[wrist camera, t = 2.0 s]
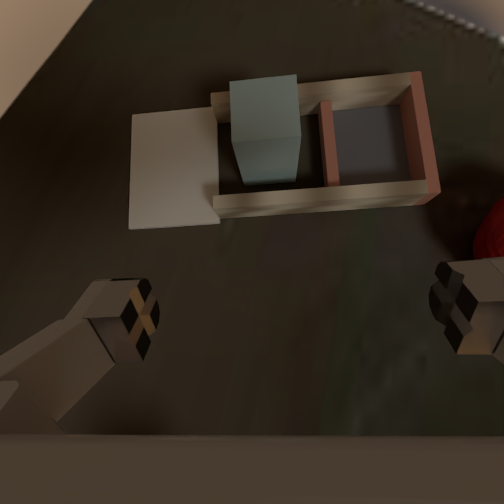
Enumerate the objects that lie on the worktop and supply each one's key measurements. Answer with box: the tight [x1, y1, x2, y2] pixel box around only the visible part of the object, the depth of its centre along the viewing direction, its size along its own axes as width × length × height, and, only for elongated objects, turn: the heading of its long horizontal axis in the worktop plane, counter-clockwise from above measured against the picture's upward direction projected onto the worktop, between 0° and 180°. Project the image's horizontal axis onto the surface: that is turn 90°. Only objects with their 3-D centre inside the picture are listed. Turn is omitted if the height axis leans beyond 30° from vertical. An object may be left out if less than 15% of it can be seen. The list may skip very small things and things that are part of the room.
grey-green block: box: [230, 75, 301, 186], centre depth 26 cm, size 5×5×8 cm
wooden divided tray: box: [211, 72, 428, 219], centre depth 28 cm, size 18×11×3 cm, turn 93°
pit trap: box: [318, 71, 441, 205], centre depth 28 cm, size 9×11×3 cm
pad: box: [129, 107, 220, 230], centre depth 30 cm, size 9×12×1 cm
